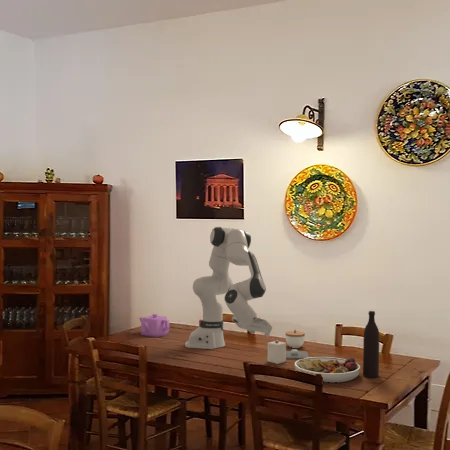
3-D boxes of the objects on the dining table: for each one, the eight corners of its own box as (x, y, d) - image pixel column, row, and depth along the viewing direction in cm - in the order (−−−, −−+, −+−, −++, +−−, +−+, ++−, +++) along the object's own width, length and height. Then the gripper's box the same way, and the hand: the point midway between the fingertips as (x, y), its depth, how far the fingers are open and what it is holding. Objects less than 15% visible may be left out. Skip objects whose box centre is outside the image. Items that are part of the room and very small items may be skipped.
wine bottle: (376, 373, 283) (377, 310, 282) (380, 378, 276) (381, 312, 275) (361, 373, 283) (362, 310, 282) (365, 378, 276) (366, 312, 275)
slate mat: (282, 358, 310) (282, 353, 310) (280, 352, 324) (280, 346, 324) (309, 359, 309) (309, 353, 309) (306, 352, 323) (306, 347, 323)
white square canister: (277, 363, 300) (277, 342, 300) (267, 361, 305) (267, 340, 304) (285, 361, 305) (286, 340, 304) (276, 359, 309) (276, 338, 309)
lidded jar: (298, 349, 330) (298, 332, 330) (281, 347, 336) (281, 330, 336) (308, 346, 338) (308, 329, 338) (291, 343, 345) (291, 327, 345)
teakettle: (170, 336, 361) (170, 316, 360) (142, 338, 357) (142, 317, 356) (166, 331, 377) (166, 311, 377) (139, 332, 373) (139, 312, 373)
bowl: (310, 387, 263) (310, 369, 262) (284, 369, 292) (285, 352, 291) (372, 382, 271) (372, 364, 270) (341, 365, 300) (342, 349, 299)
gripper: (266, 314, 283) (280, 332, 290) (235, 308, 297) (248, 326, 304) (260, 324, 280) (273, 342, 287) (228, 319, 294) (242, 336, 301)
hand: (260, 334), depth 296 cm, fingers open, 8 cm apart
